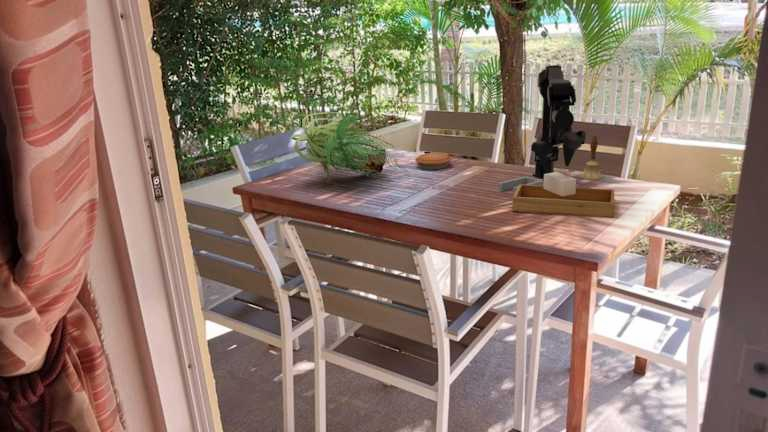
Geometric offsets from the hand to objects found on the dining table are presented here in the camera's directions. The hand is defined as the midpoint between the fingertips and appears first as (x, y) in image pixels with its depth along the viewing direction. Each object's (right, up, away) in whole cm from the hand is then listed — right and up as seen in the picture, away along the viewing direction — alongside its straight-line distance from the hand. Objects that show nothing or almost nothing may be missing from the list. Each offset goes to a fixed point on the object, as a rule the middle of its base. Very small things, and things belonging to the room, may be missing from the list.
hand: (557, 168), depth 199 cm
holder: (-8, -6, +18) cm, 21 cm away
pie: (-36, +5, +56) cm, 67 cm away
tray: (+2, -14, -1) cm, 14 cm away
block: (0, -8, -2) cm, 8 cm away
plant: (-68, -3, +40) cm, 79 cm away
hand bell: (+21, -1, +29) cm, 36 cm away
